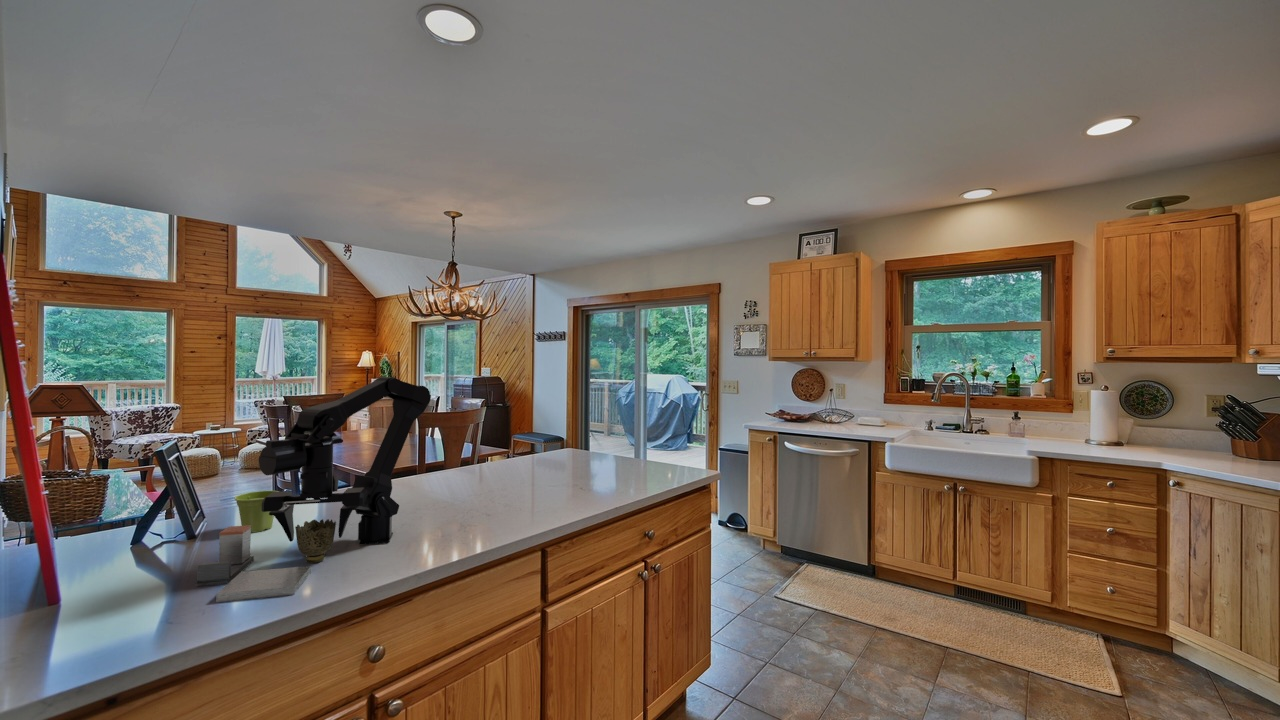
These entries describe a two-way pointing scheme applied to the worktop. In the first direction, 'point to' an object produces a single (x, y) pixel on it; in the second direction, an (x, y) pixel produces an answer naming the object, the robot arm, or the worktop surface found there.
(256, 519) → the plant pot
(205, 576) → the press rail
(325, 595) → the worktop surface
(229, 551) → the small box
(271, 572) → the flat plate
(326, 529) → the cup
